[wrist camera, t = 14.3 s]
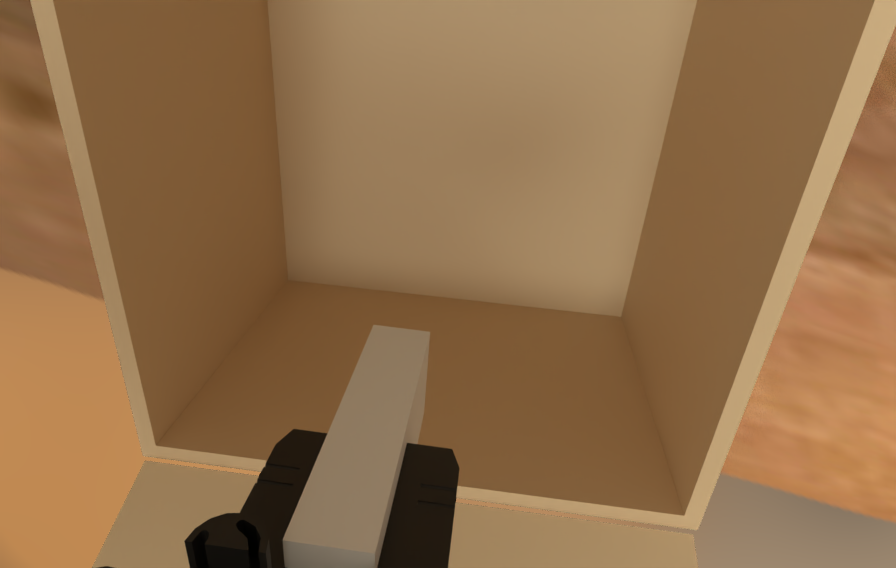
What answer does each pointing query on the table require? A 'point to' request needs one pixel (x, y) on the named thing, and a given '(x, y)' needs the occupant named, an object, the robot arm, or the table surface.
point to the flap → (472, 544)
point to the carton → (460, 219)
